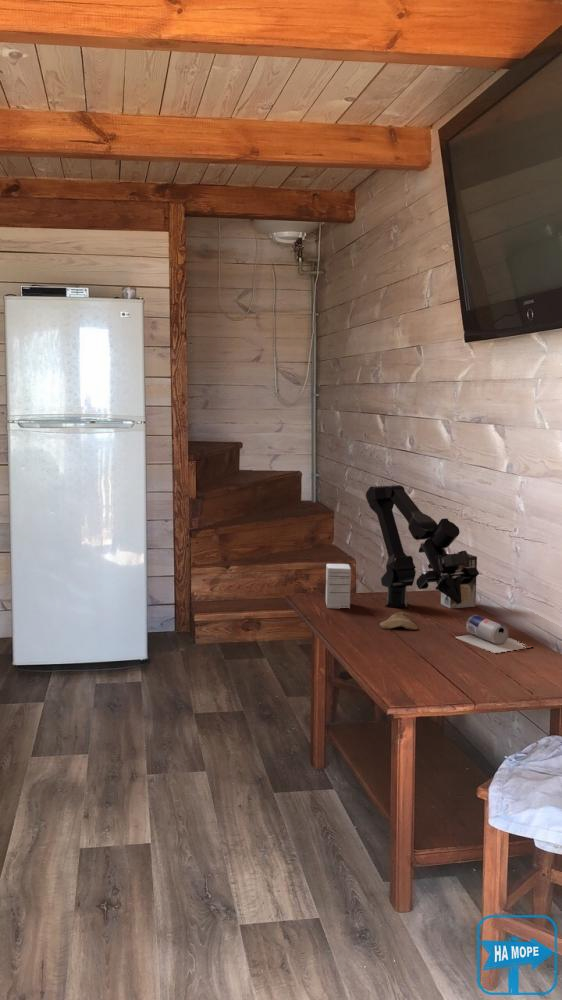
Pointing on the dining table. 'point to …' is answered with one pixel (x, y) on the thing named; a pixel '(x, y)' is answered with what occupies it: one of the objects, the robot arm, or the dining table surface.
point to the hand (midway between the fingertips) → (459, 603)
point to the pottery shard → (399, 621)
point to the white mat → (492, 644)
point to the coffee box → (463, 589)
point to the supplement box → (338, 585)
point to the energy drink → (487, 629)
